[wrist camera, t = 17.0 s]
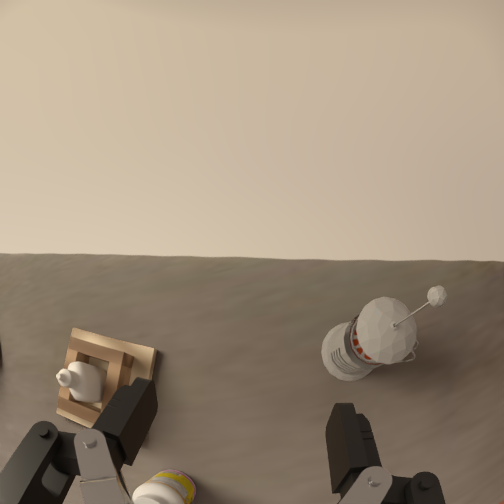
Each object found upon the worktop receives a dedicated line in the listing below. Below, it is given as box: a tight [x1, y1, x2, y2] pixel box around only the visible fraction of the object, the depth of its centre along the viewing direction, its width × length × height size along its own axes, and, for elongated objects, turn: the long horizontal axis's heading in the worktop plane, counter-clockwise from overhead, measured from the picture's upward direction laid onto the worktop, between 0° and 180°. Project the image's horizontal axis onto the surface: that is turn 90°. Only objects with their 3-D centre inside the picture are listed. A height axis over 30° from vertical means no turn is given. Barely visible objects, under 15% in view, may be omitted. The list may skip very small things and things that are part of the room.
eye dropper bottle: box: [56, 361, 107, 403], centre depth 31 cm, size 4×6×12 cm
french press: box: [321, 286, 447, 381], centre depth 30 cm, size 10×12×25 cm
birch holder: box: [57, 327, 157, 428], centre depth 35 cm, size 16×16×6 cm
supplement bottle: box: [132, 470, 196, 504], centre depth 25 cm, size 7×7×13 cm
